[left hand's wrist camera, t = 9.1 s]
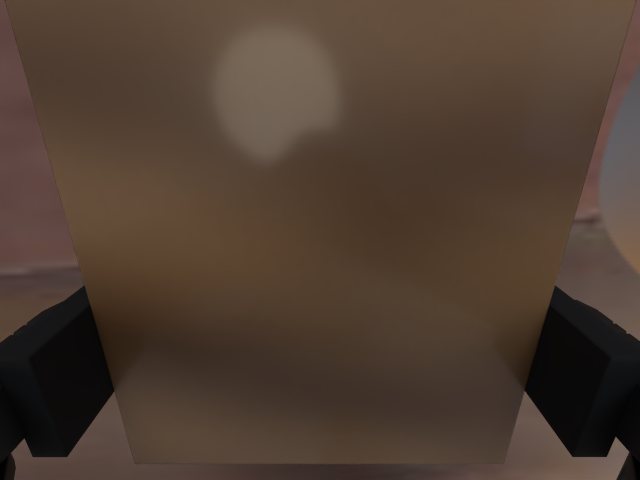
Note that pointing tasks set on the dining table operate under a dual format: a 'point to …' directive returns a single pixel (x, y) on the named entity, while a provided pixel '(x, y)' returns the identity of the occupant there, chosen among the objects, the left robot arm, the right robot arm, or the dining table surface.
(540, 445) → the dining table surface
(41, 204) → the dining table surface
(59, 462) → the dining table surface
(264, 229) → the cabinet
